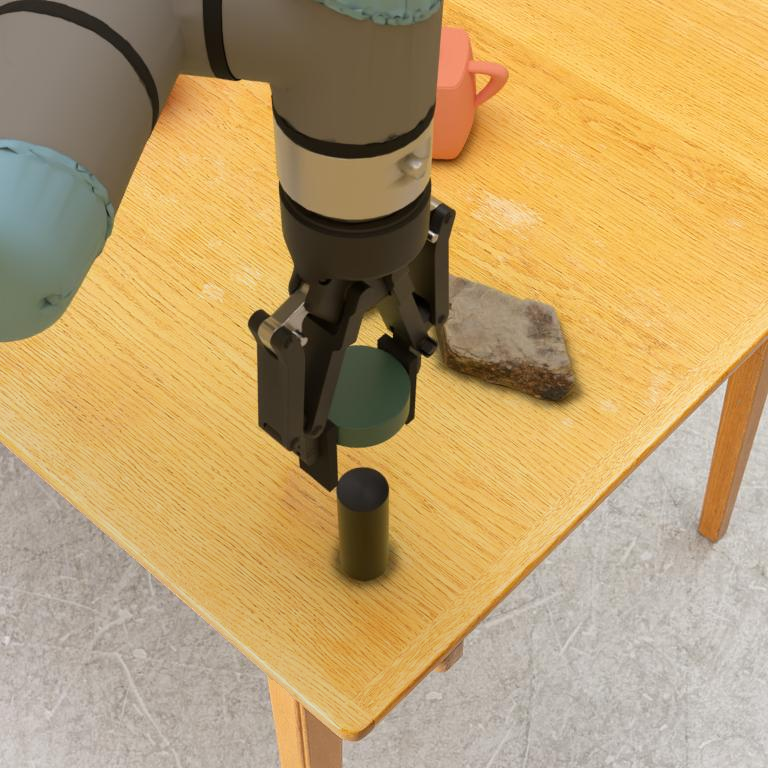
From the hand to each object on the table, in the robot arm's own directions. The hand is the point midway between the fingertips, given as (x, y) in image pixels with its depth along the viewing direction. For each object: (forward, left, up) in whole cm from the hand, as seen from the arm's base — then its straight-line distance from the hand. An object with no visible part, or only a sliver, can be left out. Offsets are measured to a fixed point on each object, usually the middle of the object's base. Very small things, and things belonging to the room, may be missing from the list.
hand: (357, 442), depth 75 cm
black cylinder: (0, 0, -15) cm, 15 cm away
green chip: (0, 0, +4) cm, 4 cm away
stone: (+14, +19, -16) cm, 28 cm away
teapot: (+11, +48, -16) cm, 52 cm away
